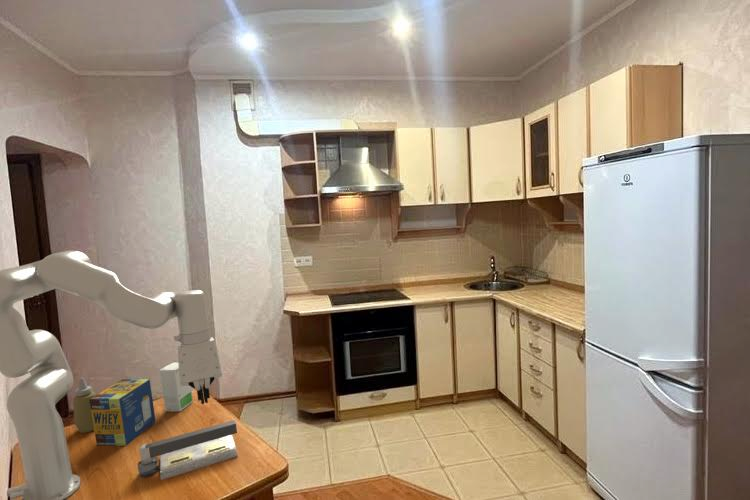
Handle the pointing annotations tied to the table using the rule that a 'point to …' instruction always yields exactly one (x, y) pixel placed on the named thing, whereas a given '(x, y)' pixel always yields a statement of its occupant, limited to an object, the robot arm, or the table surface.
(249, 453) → the table surface
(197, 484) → the table surface
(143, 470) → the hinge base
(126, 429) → the protein box
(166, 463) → the label panel
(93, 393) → the squeeze bottle
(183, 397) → the skincare box
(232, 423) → the lever
